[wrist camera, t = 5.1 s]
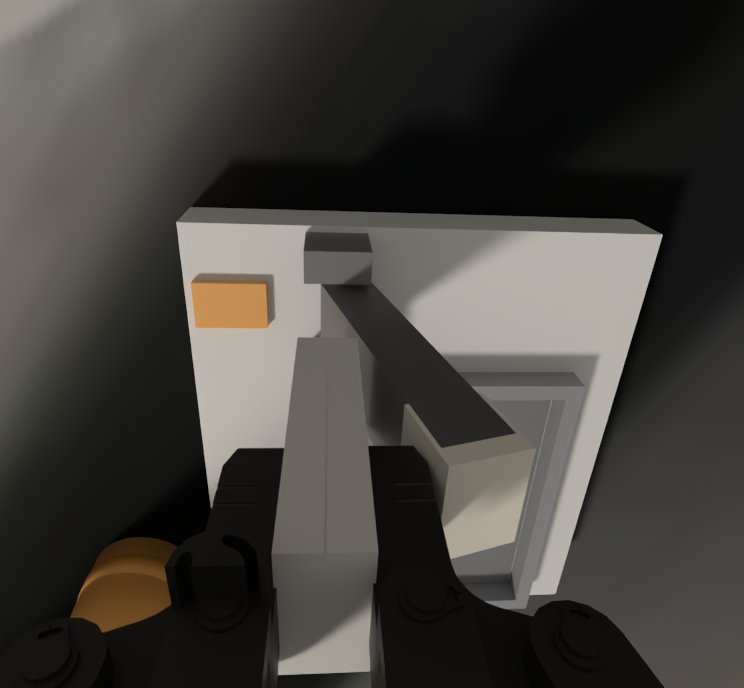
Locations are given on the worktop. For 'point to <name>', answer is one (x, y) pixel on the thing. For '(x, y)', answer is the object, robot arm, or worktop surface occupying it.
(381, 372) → the breaker lever
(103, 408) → the worktop surface
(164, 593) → the cap
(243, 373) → the panel
